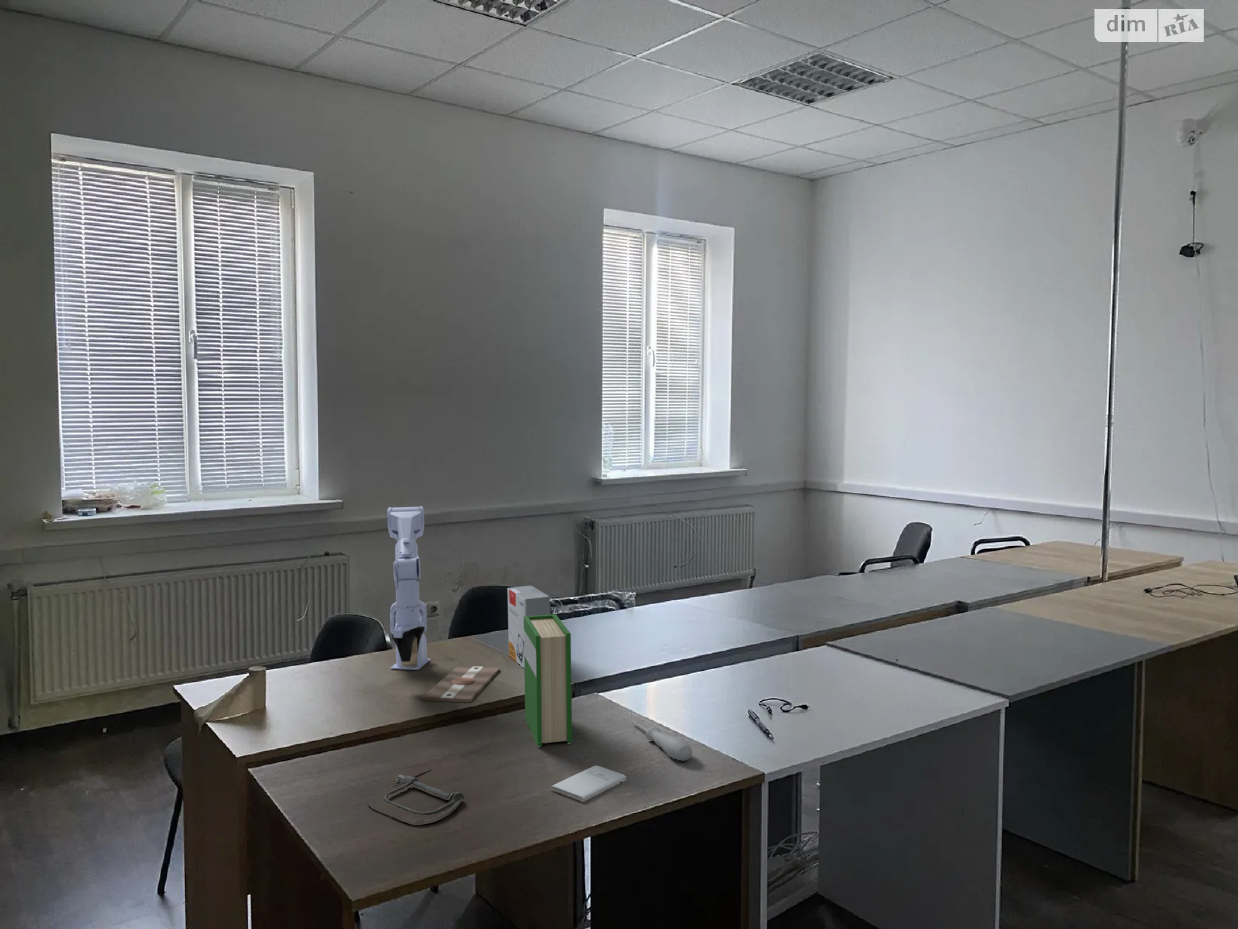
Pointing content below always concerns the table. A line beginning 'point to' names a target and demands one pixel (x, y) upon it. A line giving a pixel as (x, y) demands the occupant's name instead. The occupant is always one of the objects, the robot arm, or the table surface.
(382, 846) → the table surface
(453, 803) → the c clamp
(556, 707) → the hardback book
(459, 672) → the board
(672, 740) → the screwdriver
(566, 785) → the external hard drive
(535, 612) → the hard drive box
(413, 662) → the tan cylinder
